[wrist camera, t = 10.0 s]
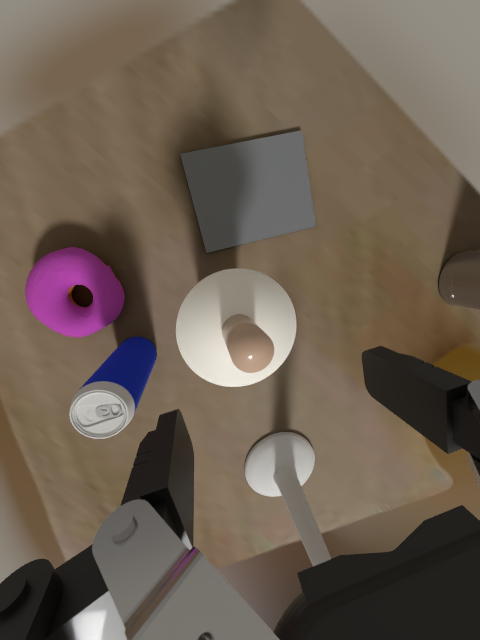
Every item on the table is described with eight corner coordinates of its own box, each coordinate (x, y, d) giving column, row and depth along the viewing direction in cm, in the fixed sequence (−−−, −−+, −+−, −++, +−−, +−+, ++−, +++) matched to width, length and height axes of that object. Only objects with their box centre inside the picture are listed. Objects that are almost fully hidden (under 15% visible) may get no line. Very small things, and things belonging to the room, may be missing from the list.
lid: (280, 255, 20) (314, 252, 15) (300, 362, 23) (336, 396, 17) (160, 285, 19) (145, 295, 13) (196, 395, 22) (196, 443, 16)
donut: (79, 343, 33) (61, 355, 29) (21, 280, 31) (-8, 283, 26) (142, 301, 34) (134, 307, 29) (91, 235, 31) (74, 230, 26)
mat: (299, 132, 32) (301, 130, 32) (313, 226, 35) (315, 226, 35) (180, 155, 30) (180, 153, 30) (206, 253, 34) (206, 252, 33)
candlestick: (232, 455, 42) (318, 882, 13) (298, 419, 42) (517, 746, 14) (262, 504, 45) (381, 926, 16) (322, 470, 46) (536, 815, 17)
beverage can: (123, 372, 35) (75, 447, 21) (115, 338, 34) (57, 393, 20) (160, 365, 36) (138, 434, 22) (153, 332, 35) (124, 381, 20)
